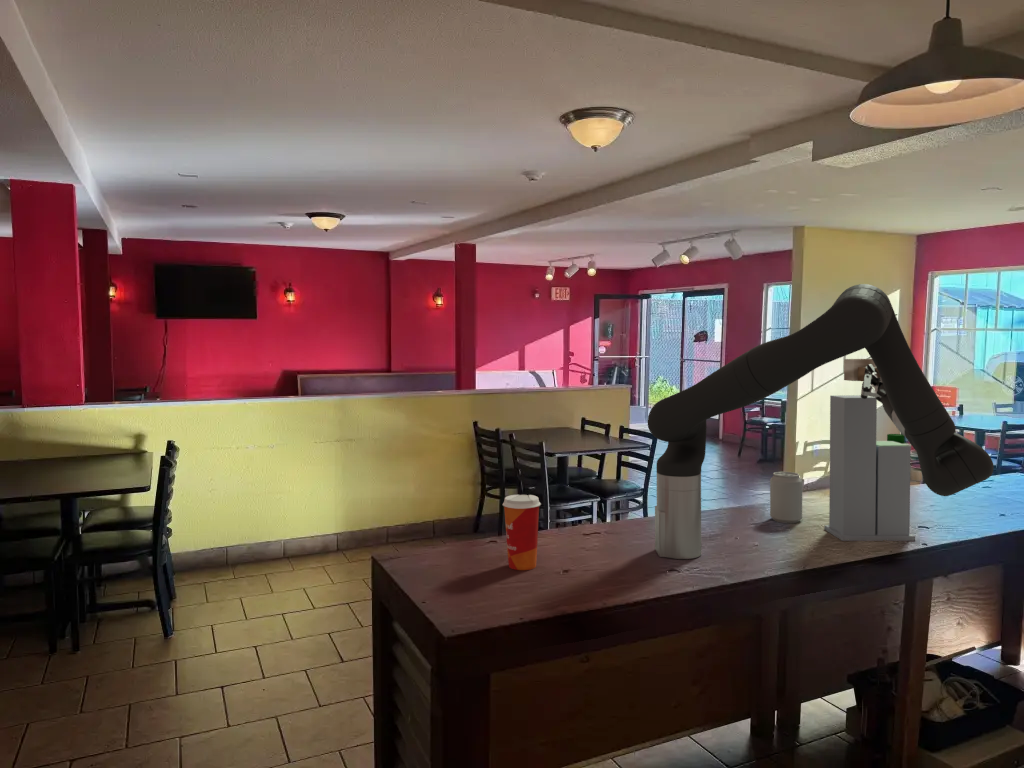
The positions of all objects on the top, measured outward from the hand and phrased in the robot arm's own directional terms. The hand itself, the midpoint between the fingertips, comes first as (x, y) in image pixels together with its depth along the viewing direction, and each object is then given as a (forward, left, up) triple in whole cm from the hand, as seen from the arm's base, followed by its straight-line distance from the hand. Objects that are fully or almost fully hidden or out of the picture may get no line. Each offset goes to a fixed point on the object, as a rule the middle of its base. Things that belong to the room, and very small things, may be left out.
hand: (876, 367), depth 150 cm
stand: (+4, +12, -39) cm, 41 cm away
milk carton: (+20, +37, -39) cm, 57 cm away
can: (-10, +26, -39) cm, 48 cm away
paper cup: (-75, -12, -39) cm, 86 cm away
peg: (0, +3, -3) cm, 4 cm away
